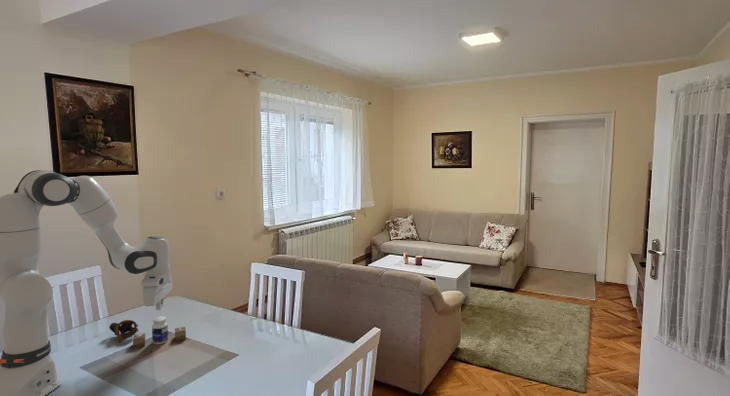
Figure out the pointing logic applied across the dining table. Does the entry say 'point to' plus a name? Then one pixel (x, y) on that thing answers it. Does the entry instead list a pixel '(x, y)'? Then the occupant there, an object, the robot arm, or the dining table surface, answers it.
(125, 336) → the pottery mug
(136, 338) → the walnut block dot
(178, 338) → the walnut block bar
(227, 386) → the dining table surface
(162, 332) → the pill bottle
